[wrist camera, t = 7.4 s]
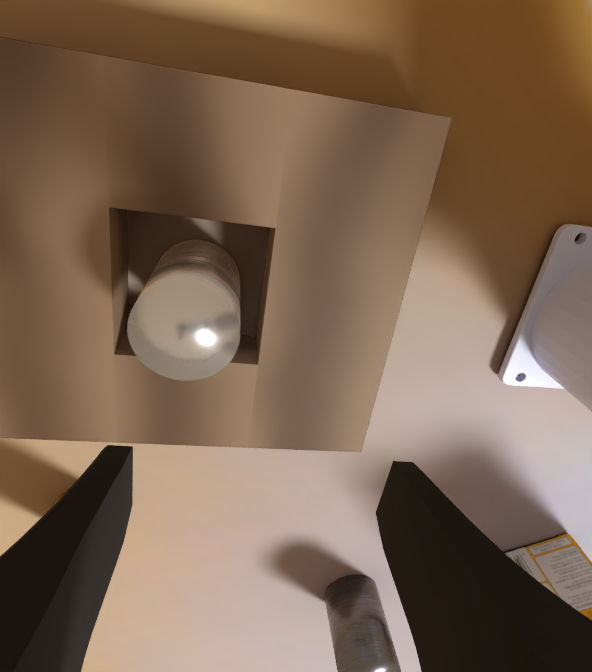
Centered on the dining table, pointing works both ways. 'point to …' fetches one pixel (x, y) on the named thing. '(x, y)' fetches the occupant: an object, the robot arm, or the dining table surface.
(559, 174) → the dining table surface
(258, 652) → the dining table surface
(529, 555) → the crayon box
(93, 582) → the robot arm
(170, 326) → the steel roller
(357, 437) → the socket board
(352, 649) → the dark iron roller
